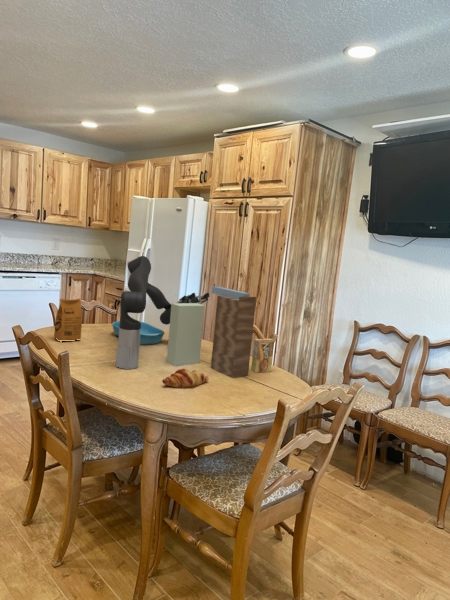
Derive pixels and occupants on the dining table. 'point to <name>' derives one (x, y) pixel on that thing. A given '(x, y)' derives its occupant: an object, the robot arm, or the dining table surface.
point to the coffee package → (68, 320)
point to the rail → (229, 292)
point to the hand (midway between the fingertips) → (201, 294)
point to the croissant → (185, 379)
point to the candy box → (262, 355)
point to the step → (185, 333)
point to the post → (233, 335)
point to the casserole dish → (144, 333)
